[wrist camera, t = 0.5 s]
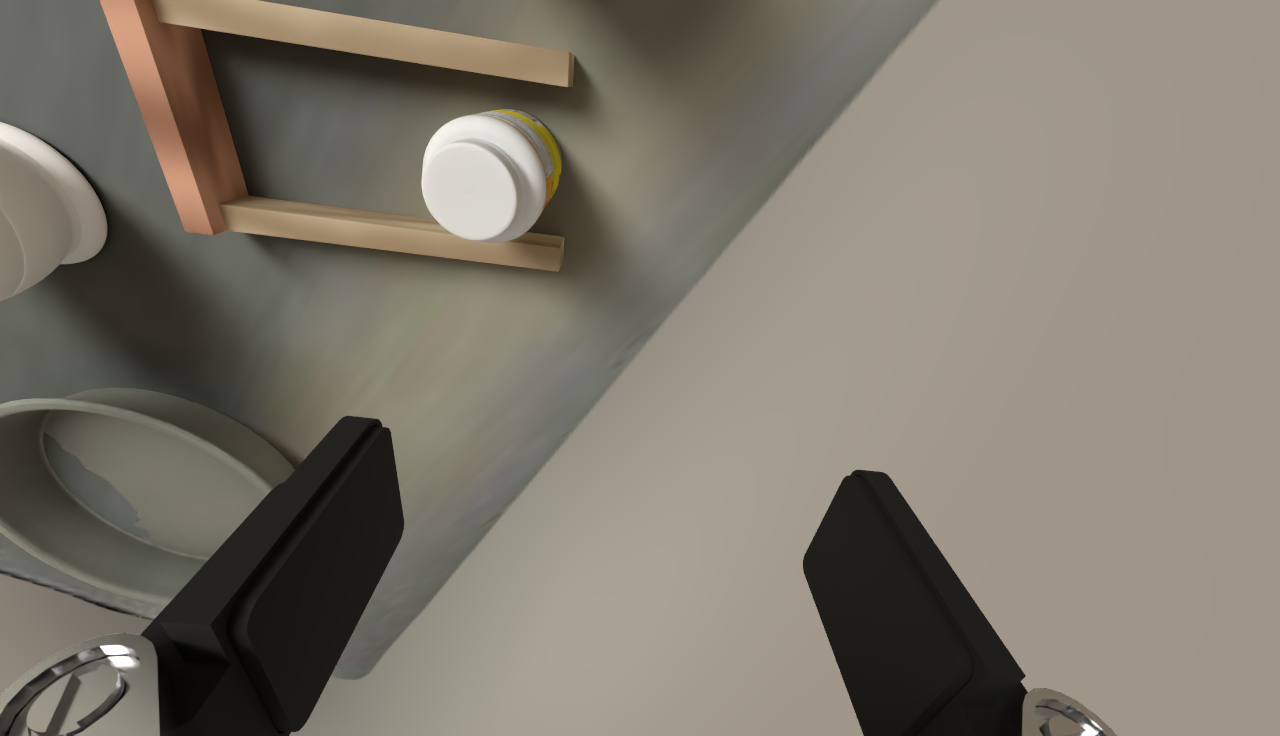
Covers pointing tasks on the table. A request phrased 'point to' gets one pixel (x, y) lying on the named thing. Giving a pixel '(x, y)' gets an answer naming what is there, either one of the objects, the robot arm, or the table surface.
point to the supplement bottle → (491, 174)
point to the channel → (204, 149)
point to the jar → (42, 212)
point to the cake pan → (131, 485)
